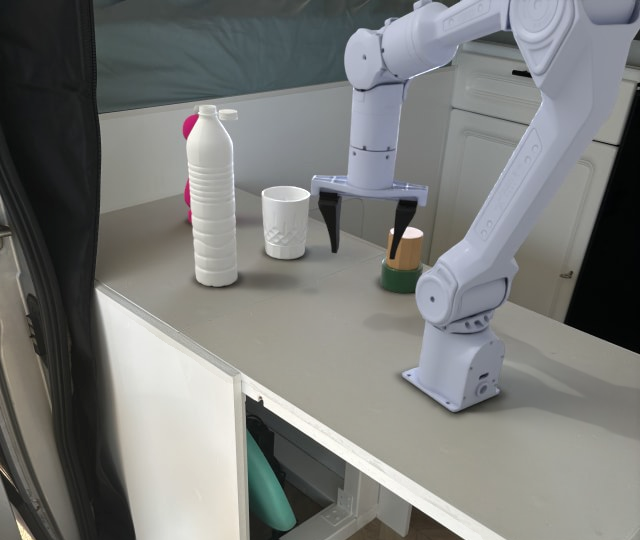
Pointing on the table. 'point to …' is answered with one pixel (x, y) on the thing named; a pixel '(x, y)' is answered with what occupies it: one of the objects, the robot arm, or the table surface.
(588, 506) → the table surface
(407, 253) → the wooden drum
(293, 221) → the white cup
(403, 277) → the green stepped peg base
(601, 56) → the robot arm
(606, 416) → the table surface
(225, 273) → the water bottle
